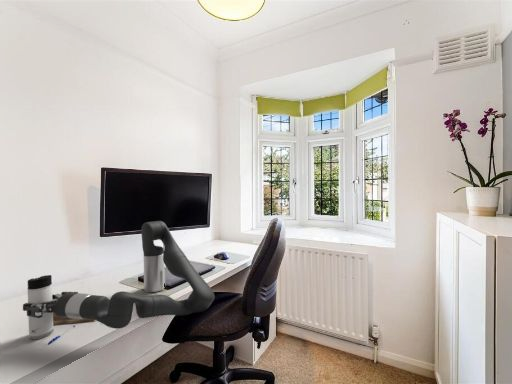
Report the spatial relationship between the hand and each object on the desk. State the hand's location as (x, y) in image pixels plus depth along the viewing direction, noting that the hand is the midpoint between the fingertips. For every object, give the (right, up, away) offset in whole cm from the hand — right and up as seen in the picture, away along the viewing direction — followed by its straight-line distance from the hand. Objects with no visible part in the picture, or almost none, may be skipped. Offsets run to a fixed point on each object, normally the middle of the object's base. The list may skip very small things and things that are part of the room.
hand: (35, 301), depth 84 cm
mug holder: (+4, -11, +14) cm, 18 cm away
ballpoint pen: (+10, -11, -1) cm, 15 cm away
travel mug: (+2, -11, 0) cm, 11 cm away
